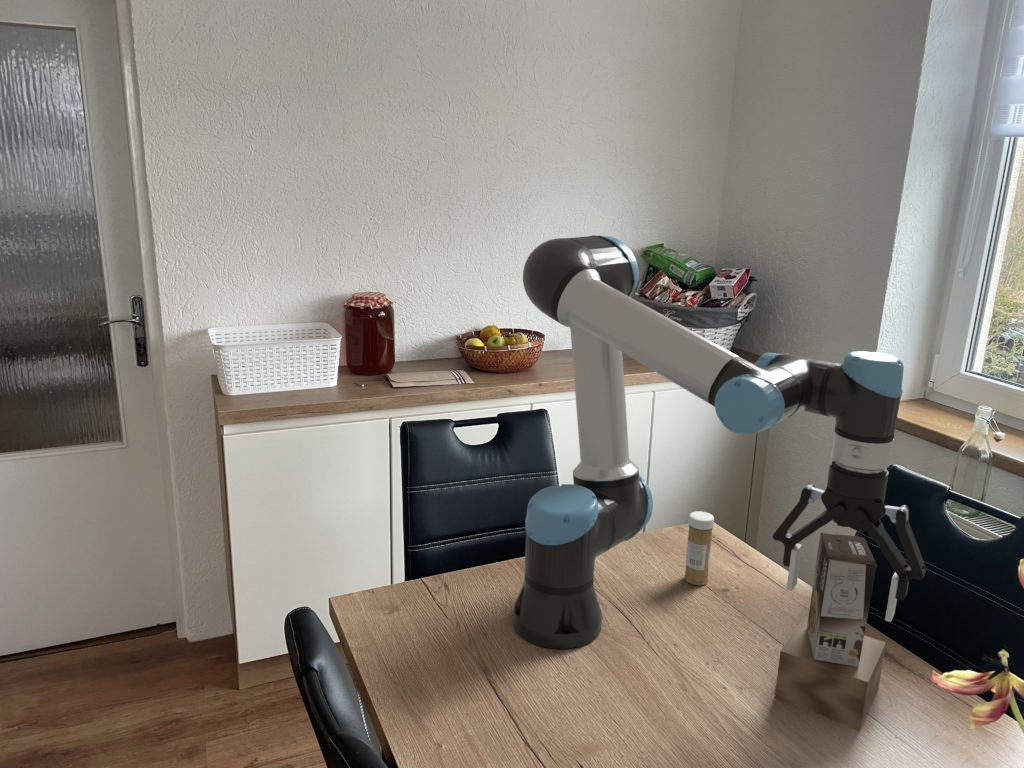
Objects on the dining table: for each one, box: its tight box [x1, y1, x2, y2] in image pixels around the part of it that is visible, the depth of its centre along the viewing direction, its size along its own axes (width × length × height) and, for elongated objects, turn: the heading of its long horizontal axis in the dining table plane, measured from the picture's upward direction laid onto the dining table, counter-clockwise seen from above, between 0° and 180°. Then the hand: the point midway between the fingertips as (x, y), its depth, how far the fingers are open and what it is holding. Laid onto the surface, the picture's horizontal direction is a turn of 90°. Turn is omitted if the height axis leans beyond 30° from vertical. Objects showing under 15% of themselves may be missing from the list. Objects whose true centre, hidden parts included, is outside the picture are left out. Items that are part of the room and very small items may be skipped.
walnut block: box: [774, 615, 887, 731], centre depth 117 cm, size 12×12×8 cm
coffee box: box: [807, 532, 878, 667], centre depth 114 cm, size 9×6×16 cm
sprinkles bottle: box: [683, 510, 715, 586], centre depth 148 cm, size 5×5×13 cm
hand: (839, 601), depth 114 cm, fingers open, 13 cm apart
